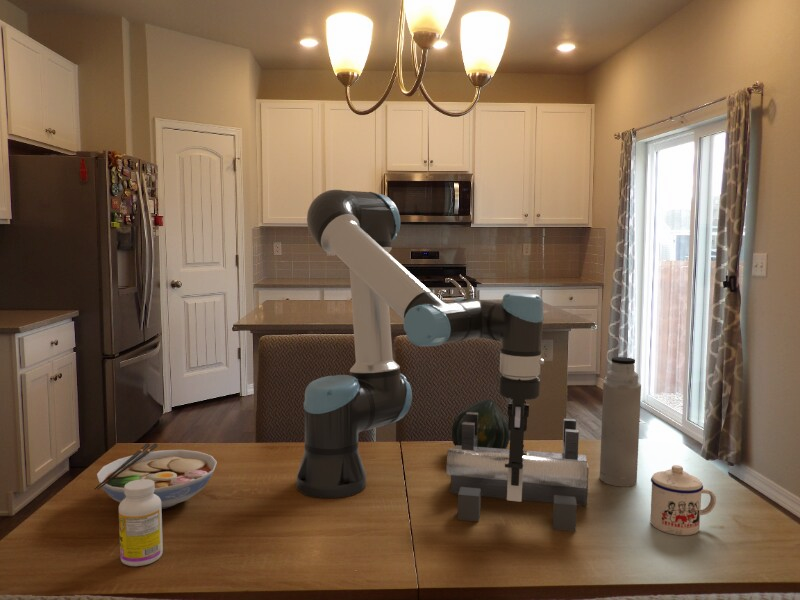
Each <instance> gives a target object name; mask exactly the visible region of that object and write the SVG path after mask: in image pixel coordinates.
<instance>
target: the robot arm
mask: <svg viewBox="0 0 800 600" xmlns="http://www.w3.org/2000/svg"><path fill="white" fill-rule="evenodd" d="M306 223H307V228H308V232H309V234H310V235H311V237H312V239H313V240H314V242H316V244H317V245H318V246H319V248H321V249H322V250H324V252H326V254H327V253H328V254H330V255H335V256H337V257H338V258H339V260H341V261H342V262H343V263H344V264H345V265H346V266H347V267H348V268H349V279H350V293H351V311H352V321H353V322H352V324H353V339H354V340H353V341H354V354H355V355H354V357H355V363H354V364H353V365H352V367H351V368H350V369H349V374H336V375H328V376H323V377H319V378H317V379H315V380H312V381H311V382H310V383H308V385H307V386H306V388H305V391H304V401H303V409H304V412H303V413H304V453H303V456H302V459H301V462H300V464H299V467H298V471H297V474H296V488H297V490H298V492H300V493H301V494H303V495H305V496H308V497H312V498H318V499H319V498H320V499H338V498H339V499H340V498H345V497H350V496H353V495H356V494H359V493H361V492H362V491H363V490H364V489H366V487H367V473H366V469H365V466H364V464H363V461H362V458H361V455H360V451H359V433H362V432H365V431H368V430H373V429H377V428H380V427H383V426H384V427H385V426H389V425H392V424H394V423H395V422H398V421H400V420H402V419H403V418H404V417H405V416H406V414H408V413H409V410H410V408H411V405H412V400H413V393H412V392H413V391H412V386H411V384H410V382H408V381H407V380H408V379H407V377H406V376H405V375H404V374H403V373H401V368H400V367H401V366H400V365H399V364H398V363H397V362H396V361H394V358H393V343H392V328H391V316H390V314H391V313H390V312H391V311H390V309H392V310H393V311H394V312H395V313H396V314H397V315H398V317H400V318H401V319H403V330H404V332H405V334H406V337H407V340H409V342H411V343H412V344H413V345H415V346H417V347H421V348H422V347H437V346H441V345H445V344H450V343H455V342H456V343H457V342H462V341H463V342H464V341H469V340H474V339H481V340H482V339H483V340H489V341H492V340H493V341H496V342H497V341H498V342H500V357H499V373H501V375H500V376H499V384H498V385H499V386H498V393H499V395H500V396H502V397H503V398H506V399H511V400H512V401H511V403H510V402H508V405H507V416H508V420H507V422H508V429H509V430H510V440H509V449H510V450H509V463H508V464H505V467H507V468H508V484H507V499H506V501H511V502H519V503H521V502H522V501H523V500H522V479H523V464H522V462H523V455H527V451H528V450H525V451H524V448H525V444H524V436H525V432H526V431H527V427H528V417H529V414H530V412H529V411H530V404H527V402H526V401H529V400H530V401H531V400H535V399H538V397H539V396H540V391H541V390H540V388H541V379H540V377H538V376H539V375H541V365H544V364H545V360H544V359H543V358H541V356H542V339H543V324H544V319H545V318H544V301H543V298H542V297H541V295H539V294H536V293H530V292H529V293H527V292H526V293H525V292H506V293H505V294H504V295H503V297H502V301H492V300H483V299H477V298H475V297H469V298H463V297H462V298H460V297H459V298H455V300H454V301H453V302H452V301H450V302H444V301H442V299H440V298H439V297H438V296H437V295H436V294H435V293H433V292H432V291H431V290H430V289H429V288H428V287H426V285H425V284H423V283H422V282H421V281H420V280H419V279H418V278H417V277H415V275H413V274H412V273H411V272H410V271H409V270H408V269H407V268H406V267H405V266H403V265H402V264H401V263H400V262H399V261H398V260H397V259H395V257H393V255H391V254H390V252H391V250H392V248H393V247H392V245H393V244H392V242H393V241H394V240H396V238H397V236H398V233H399V232H400V228H401V216H400V211H399V209H398V207H397V205H396V203H395V202H394V201H393V200H392V199H391V198H390V197H388V196H387V195H385V194H381V193H376V192H374V191H357V190H355V191H354V190H345V189H344V190H342V189H330V190H326V191H324V192H321V193H320V194H319V195H318V196H316V197H315V198H314V199H313V201H311V203H310V205H309V208H308V211H307V215H306Z"/></svg>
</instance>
